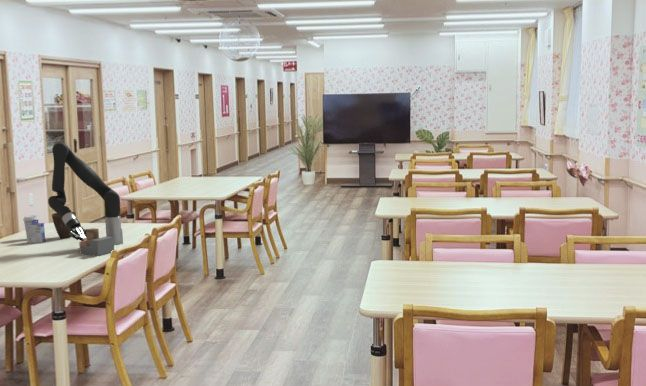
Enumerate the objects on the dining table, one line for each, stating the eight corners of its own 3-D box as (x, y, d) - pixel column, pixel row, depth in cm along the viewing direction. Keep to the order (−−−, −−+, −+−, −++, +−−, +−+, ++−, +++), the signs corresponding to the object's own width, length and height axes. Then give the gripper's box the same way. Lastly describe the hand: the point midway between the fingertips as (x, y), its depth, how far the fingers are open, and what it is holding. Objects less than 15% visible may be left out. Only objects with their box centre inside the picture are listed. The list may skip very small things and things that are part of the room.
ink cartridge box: (45, 241, 468) (44, 219, 466) (42, 243, 463) (40, 220, 461) (30, 241, 468) (28, 219, 466) (27, 243, 463) (25, 220, 461)
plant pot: (64, 240, 469) (62, 216, 467) (48, 238, 477) (46, 214, 475) (82, 236, 482) (80, 212, 480) (66, 234, 489) (65, 211, 487)
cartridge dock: (81, 253, 427) (80, 238, 426) (96, 249, 437) (96, 235, 436) (98, 256, 419) (97, 240, 418) (114, 252, 430) (113, 237, 428)
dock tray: (79, 251, 428) (79, 241, 427) (94, 248, 437) (93, 238, 437) (91, 253, 423) (90, 243, 422) (106, 249, 432) (105, 240, 431)
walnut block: (93, 247, 433) (92, 228, 432) (99, 248, 431) (98, 228, 429) (87, 249, 429) (85, 229, 427) (92, 250, 426) (91, 230, 425)
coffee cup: (34, 240, 472) (33, 217, 470) (21, 240, 474) (19, 217, 472) (43, 237, 481) (41, 215, 479) (30, 237, 483) (28, 215, 481)
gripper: (64, 219, 430) (80, 241, 425) (82, 216, 441) (97, 237, 436) (59, 227, 433) (74, 249, 429) (77, 223, 445) (92, 245, 440)
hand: (86, 243), depth 433 cm, fingers closed
